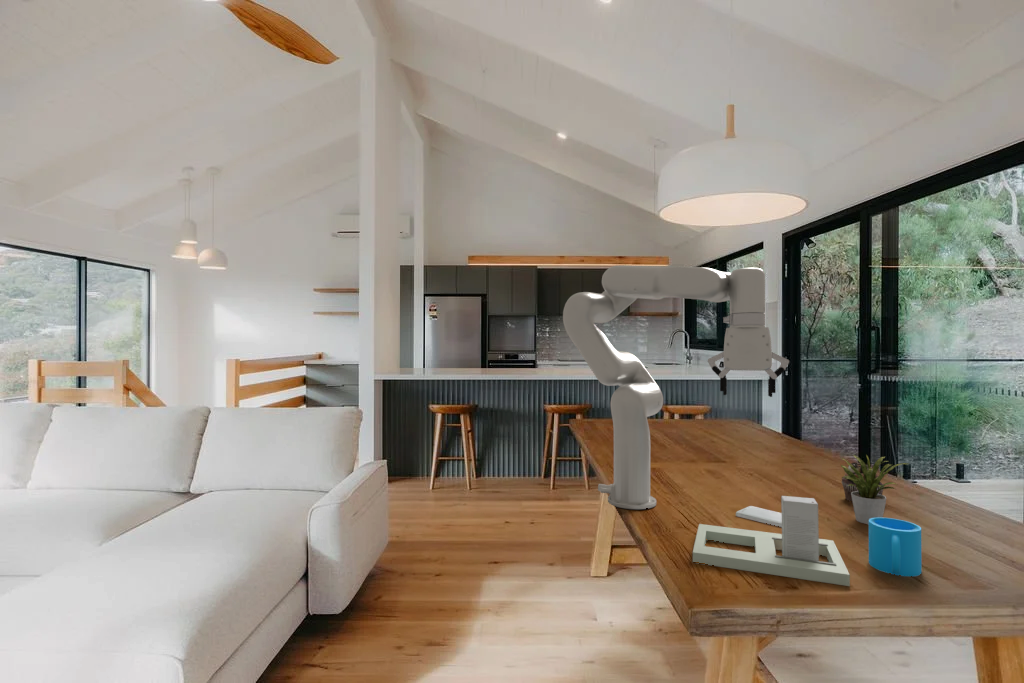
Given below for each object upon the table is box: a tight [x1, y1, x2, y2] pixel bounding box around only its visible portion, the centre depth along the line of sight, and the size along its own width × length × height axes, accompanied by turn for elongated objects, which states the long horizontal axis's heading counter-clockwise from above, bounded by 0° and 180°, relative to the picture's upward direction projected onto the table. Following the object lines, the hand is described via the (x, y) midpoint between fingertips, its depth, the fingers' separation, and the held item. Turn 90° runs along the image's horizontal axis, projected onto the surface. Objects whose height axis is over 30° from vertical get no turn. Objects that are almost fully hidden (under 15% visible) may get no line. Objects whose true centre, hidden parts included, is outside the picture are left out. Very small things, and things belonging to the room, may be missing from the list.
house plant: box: [840, 454, 909, 525], centre depth 129 cm, size 14×14×16 cm
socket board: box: [692, 523, 851, 587], centre depth 107 cm, size 26×18×2 cm
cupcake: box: [841, 462, 884, 503], centre depth 146 cm, size 10×10×10 cm
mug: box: [868, 517, 923, 577], centre depth 101 cm, size 12×8×8 cm
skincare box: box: [780, 495, 820, 561], centre depth 105 cm, size 6×4×12 cm
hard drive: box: [735, 505, 782, 528], centre depth 131 cm, size 2×8×12 cm
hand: (747, 395), depth 125 cm, fingers open, 9 cm apart
